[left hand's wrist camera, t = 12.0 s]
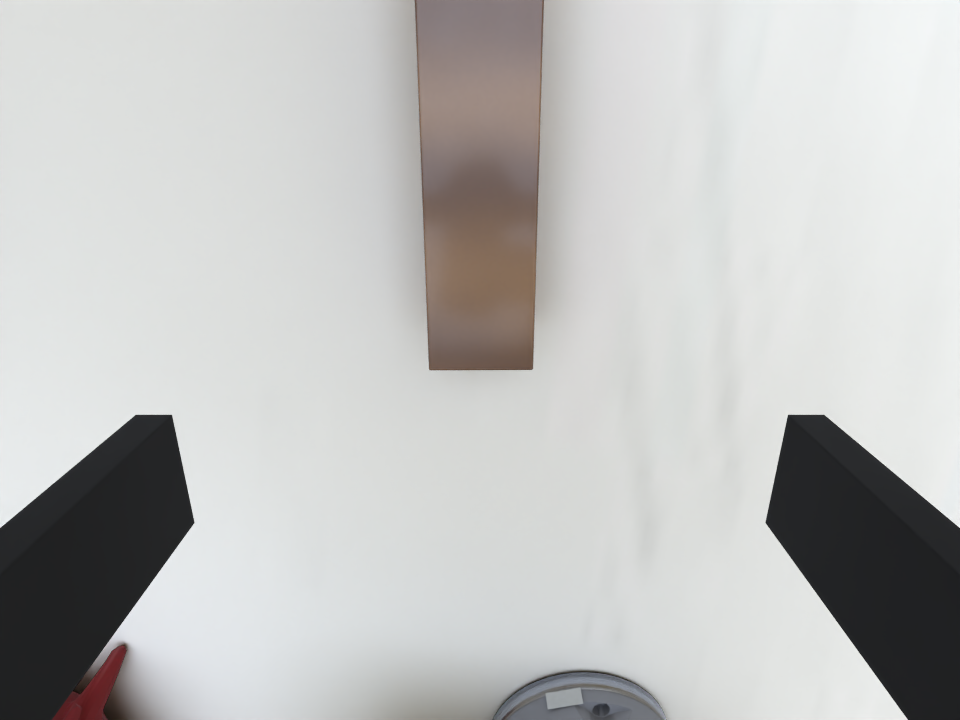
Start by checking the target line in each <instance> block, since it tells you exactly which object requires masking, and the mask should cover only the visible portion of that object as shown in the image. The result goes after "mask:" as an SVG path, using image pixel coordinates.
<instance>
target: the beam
mask: <svg viewBox="0 0 960 720" xmlns="http://www.w3.org/2000/svg"><path fill="white" fill-rule="evenodd" d="M543 10H544V0H415V16H416V42H417V68H418V94H419V120H420V146H421V172H422V198H423V224H424V250H425V276H426V302H427V328H428V354H429V370H532V369H533V349H534V315H535V281H536V247H537V214H538V180H539V146H540V112H541V78H542V44H543Z"/></svg>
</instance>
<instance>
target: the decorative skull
mask: <svg viewBox="0 0 960 720" xmlns="http://www.w3.org/2000/svg"><path fill="white" fill-rule="evenodd" d="M126 651H127V650H126V648H125V646H124V645H122V646H118V647H117V648H116V649H114V650H113V651H112V652H111V653H110V655H109V657H108V658H107V660H106V661H105V663H104V664H103V665H102V667H101V668H100V669H99V671H98V672H97V673H96V675H95V676H94V677H93V679H92V680H91V681H90V683H89V684H88V686H87V687H86V688H85V690H84V691H83V692H82V693H81V694H78V693H76V692H74V691H72V693H71V694H70V695H69V697H68V698H67V700H66V701H65V702H64V704H63V705H62V707H61V708H60V709H59V711H58V712H57V713H56V715H55V716H54V718H53V719H52V720H108V719H107V718H106V716H105V714H104V712H103V709H104V706H105V704H106V702H107V699H108V697H109V694H110V692H111V690H112V687H113V685H114V683H115V680H116V678H117V675H118V673H119V670H120V668H121V665H122V662H123V659H124V657H125V654H126Z"/></svg>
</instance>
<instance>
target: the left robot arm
mask: <svg viewBox="0 0 960 720" xmlns="http://www.w3.org/2000/svg"><path fill="white" fill-rule="evenodd" d="M193 524H194V518H193V514H192V509H191V504H190V499H189V494H188V490H187V485H186V480H185V475H184V471H183V466H182V461H181V456H180V451H179V447H178V442H177V437H176V432H175V427H174V423H173V418H172V415H135V416H134V417H133V418H132V419H130V420H129V421H128V422H127V423H126V424H124V425H123V426H122V427H121V428H120V429H118V430H117V431H116V432H115V433H114V434H113V435H111V436H110V437H109V438H108V439H107V440H105V441H104V442H103V443H102V444H101V445H99V446H98V447H97V448H96V449H95V450H93V451H92V452H91V453H90V454H89V455H87V456H86V457H85V458H84V459H83V460H81V461H80V462H79V463H78V464H77V465H75V466H74V467H73V468H72V469H71V470H69V471H68V472H67V473H66V474H65V475H63V476H62V477H61V478H60V479H59V480H57V481H56V482H55V483H54V484H53V485H51V486H50V487H49V488H48V489H47V490H45V491H44V492H43V493H42V494H41V495H39V496H38V497H37V498H36V499H35V500H33V501H32V502H31V503H30V504H29V505H27V506H26V507H25V508H24V509H23V510H21V511H20V512H19V513H18V514H17V515H15V516H14V517H13V518H12V519H11V520H9V521H8V522H7V523H6V524H5V525H3V526H2V527H1V528H0V720H52V719H53V718H54V716H55V715H56V713H57V712H58V711H59V709H60V708H61V707H62V705H63V704H64V702H65V701H66V700H67V698H68V697H69V695H70V694H71V693H72V691H73V690H74V689H75V687H76V686H77V684H78V683H79V682H80V680H81V679H82V677H83V676H84V675H85V673H86V672H87V671H88V669H89V668H90V666H91V665H92V664H93V662H94V661H95V659H96V658H97V657H98V655H99V654H100V653H101V651H102V650H103V648H104V647H105V646H106V644H107V643H108V642H109V640H110V639H111V637H112V636H113V635H114V633H115V632H116V630H117V629H118V628H119V626H120V625H121V624H122V622H123V621H124V619H125V618H126V617H127V615H128V614H129V612H130V611H131V610H132V608H133V607H134V606H135V604H136V603H137V601H138V600H139V599H140V597H141V596H142V595H143V593H144V592H145V590H146V589H147V588H148V586H149V585H150V583H151V582H152V581H153V579H154V578H155V577H156V575H157V574H158V572H159V571H160V570H161V568H162V567H163V565H164V564H165V563H166V561H167V560H168V559H169V557H170V556H171V554H172V553H173V552H174V550H175V549H176V547H177V546H178V545H179V543H180V542H181V541H182V539H183V538H184V536H185V535H186V534H187V532H188V531H189V530H190V528H191V527H192V525H193ZM766 524H767V525H768V527H769V528H770V530H771V531H772V532H773V534H774V535H775V536H776V538H777V539H778V541H779V542H780V543H781V545H782V546H783V547H784V549H785V550H786V552H787V553H788V554H789V556H790V557H791V559H792V560H793V561H794V563H795V564H796V565H797V567H798V568H799V570H800V571H801V572H802V574H803V575H804V577H805V578H806V579H807V581H808V582H809V583H810V585H811V586H812V588H813V589H814V590H815V592H816V593H817V595H818V596H819V597H820V599H821V600H822V601H823V603H824V604H825V606H826V607H827V608H828V610H829V611H830V612H831V614H832V615H833V617H834V618H835V619H836V621H837V622H838V624H839V625H840V626H841V628H842V629H843V630H844V632H845V633H846V635H847V636H848V637H849V639H850V640H851V642H852V643H853V644H854V646H855V647H856V648H857V650H858V651H859V653H860V654H861V655H862V657H863V658H864V659H865V661H866V662H867V664H868V665H869V666H870V668H871V669H872V671H873V672H874V673H875V675H876V676H877V677H878V679H879V680H880V682H881V683H882V684H883V686H884V687H885V689H886V690H887V691H888V693H889V694H890V695H891V697H892V698H893V700H894V701H895V702H896V704H897V705H898V707H899V708H900V709H901V711H902V712H903V713H904V715H905V716H906V718H907V719H908V720H960V528H959V527H958V526H957V525H955V524H954V523H953V522H952V521H951V520H949V519H948V518H947V517H946V516H945V515H943V514H942V513H941V512H940V511H939V510H937V509H936V508H935V507H934V506H933V505H931V504H930V503H929V502H928V501H927V500H925V499H924V498H923V497H922V496H921V495H919V494H918V493H917V492H916V491H915V490H913V489H912V488H911V487H910V486H909V485H907V484H906V483H905V482H904V481H903V480H901V479H900V478H899V477H898V476H897V475H895V474H894V473H893V472H892V471H891V470H889V469H888V468H887V467H886V466H885V465H883V464H882V463H881V462H880V461H879V460H877V459H876V458H875V457H874V456H873V455H871V454H870V453H869V452H868V451H867V450H865V449H864V448H863V447H862V446H861V445H859V444H858V443H857V442H856V441H855V440H853V439H852V438H851V437H850V436H849V435H847V434H846V433H845V432H844V431H843V430H842V429H840V428H839V427H838V426H837V425H836V424H834V423H833V422H832V421H831V420H830V419H828V418H827V417H826V416H825V415H788V418H787V423H786V427H785V432H784V437H783V442H782V447H781V451H780V456H779V461H778V466H777V471H776V475H775V480H774V485H773V490H772V494H771V499H770V504H769V509H768V514H767V518H766ZM493 720H666V717H665V715H664V712H663V710H662V708H661V707H660V705H659V704H658V703H657V701H656V700H655V699H654V698H653V697H652V696H651V695H650V694H649V693H648V692H646V691H645V690H644V689H642V688H641V687H639V686H637V685H636V684H634V683H632V682H629V681H627V680H625V679H622V678H619V677H616V676H611V675H607V674H601V673H591V672H577V673H566V674H560V675H555V676H551V677H548V678H544V679H542V680H539V681H536V682H534V683H532V684H530V685H528V686H526V687H524V688H522V689H521V690H519V691H518V692H516V693H515V694H514V695H512V696H511V697H510V698H509V699H508V700H507V701H506V702H505V703H504V704H503V705H502V706H501V707H500V709H499V710H498V712H497V713H496V715H495V716H494V719H493Z"/></svg>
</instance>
